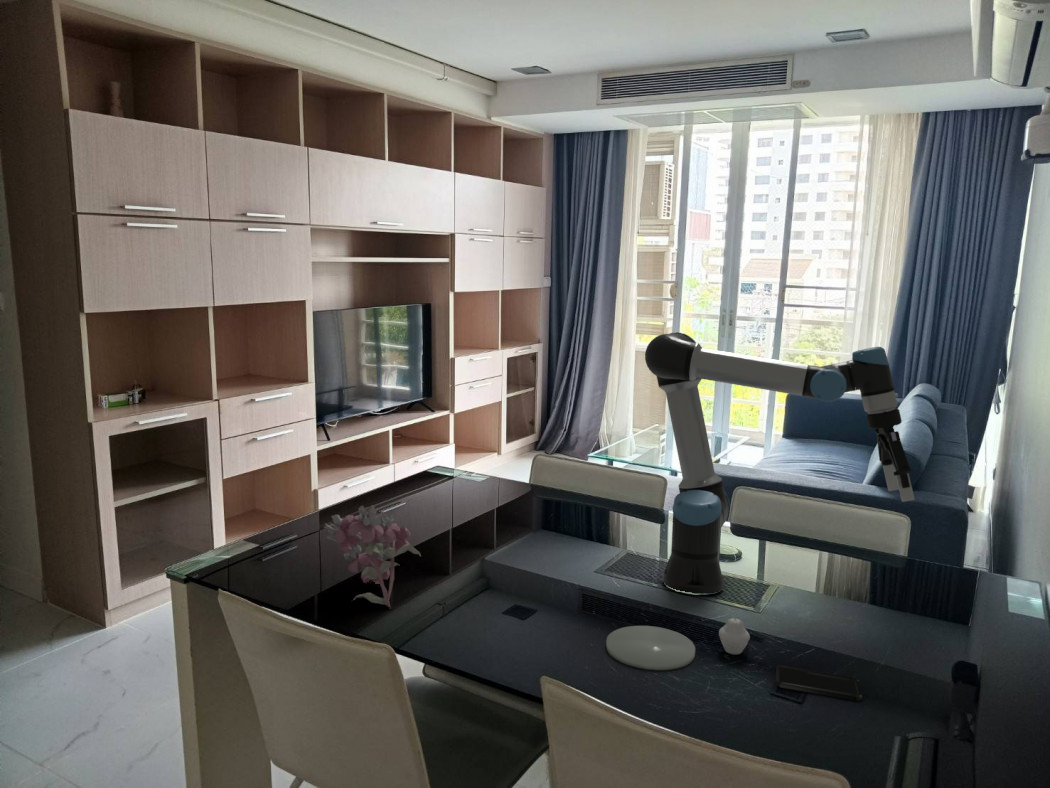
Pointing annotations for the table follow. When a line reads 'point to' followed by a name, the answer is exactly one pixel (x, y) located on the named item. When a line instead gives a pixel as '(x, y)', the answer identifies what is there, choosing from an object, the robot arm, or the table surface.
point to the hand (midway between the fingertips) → (901, 495)
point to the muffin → (734, 636)
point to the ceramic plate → (650, 647)
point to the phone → (818, 683)
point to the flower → (371, 546)
